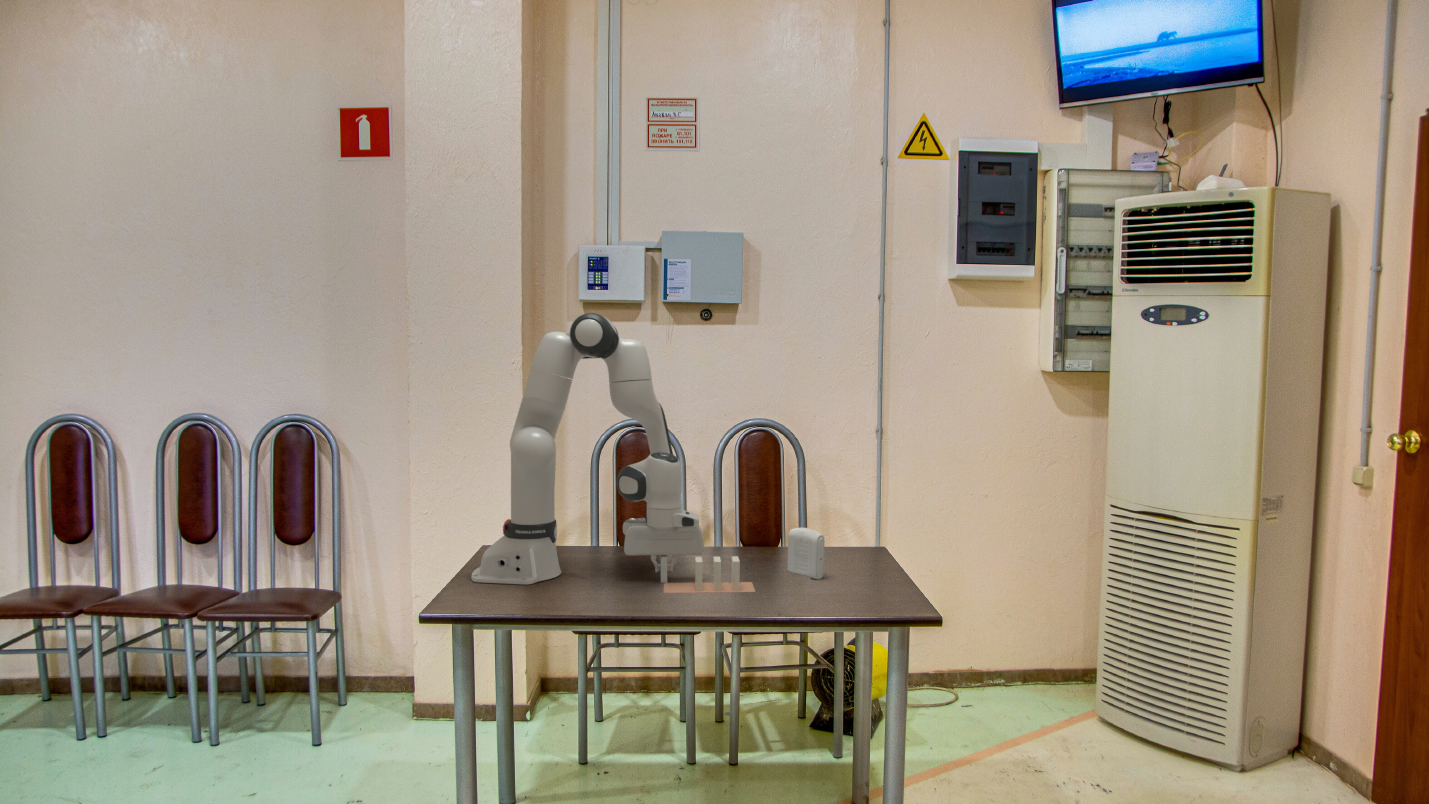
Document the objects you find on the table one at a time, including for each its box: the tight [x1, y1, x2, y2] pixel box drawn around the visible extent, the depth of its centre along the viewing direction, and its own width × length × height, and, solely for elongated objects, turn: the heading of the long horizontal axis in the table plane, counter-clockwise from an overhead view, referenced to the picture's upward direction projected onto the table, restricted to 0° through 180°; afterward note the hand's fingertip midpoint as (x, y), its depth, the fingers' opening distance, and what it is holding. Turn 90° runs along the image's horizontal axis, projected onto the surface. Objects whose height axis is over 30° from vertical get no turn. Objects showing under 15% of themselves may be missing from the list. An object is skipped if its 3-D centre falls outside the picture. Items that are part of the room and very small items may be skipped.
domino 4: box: [730, 555, 741, 590], centre depth 192 cm, size 2×5×7 cm, turn 3°
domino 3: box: [712, 556, 722, 590], centre depth 192 cm, size 2×5×7 cm, turn 4°
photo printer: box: [787, 527, 826, 580], centre depth 205 cm, size 10×4×12 cm, turn 47°
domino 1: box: [660, 555, 668, 584], centre depth 198 cm, size 2×5×7 cm, turn 3°
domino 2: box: [694, 556, 704, 591], centre depth 191 cm, size 2×5×7 cm, turn 4°
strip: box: [663, 581, 756, 594], centre depth 192 cm, size 22×8×1 cm, turn 93°
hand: (664, 571), depth 198 cm, fingers closed on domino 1, 2 cm apart
